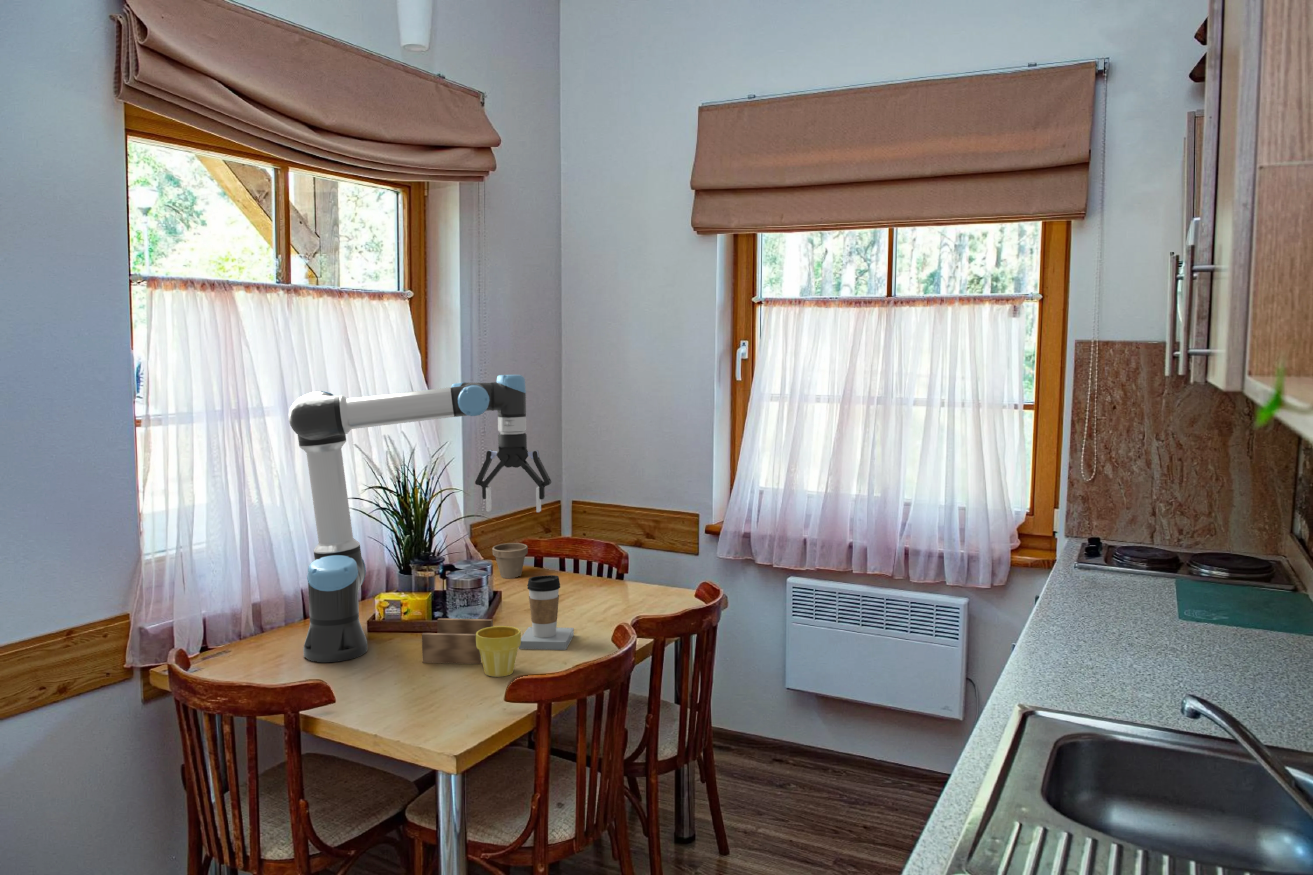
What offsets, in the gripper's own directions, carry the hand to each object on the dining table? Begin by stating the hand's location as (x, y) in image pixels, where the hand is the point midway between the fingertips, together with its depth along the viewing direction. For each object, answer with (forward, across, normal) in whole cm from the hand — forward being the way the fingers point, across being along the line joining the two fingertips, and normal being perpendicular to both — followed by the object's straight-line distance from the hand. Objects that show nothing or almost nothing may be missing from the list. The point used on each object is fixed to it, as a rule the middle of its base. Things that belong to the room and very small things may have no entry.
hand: (513, 511), depth 257 cm
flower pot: (+32, -14, +54) cm, 64 cm away
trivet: (+32, +11, -13) cm, 36 cm away
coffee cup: (+30, +10, -13) cm, 34 cm away
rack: (+32, -9, -24) cm, 41 cm away
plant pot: (+32, +4, -36) cm, 48 cm away
